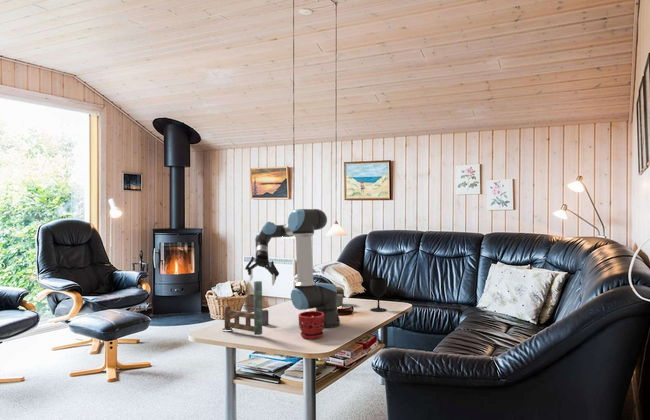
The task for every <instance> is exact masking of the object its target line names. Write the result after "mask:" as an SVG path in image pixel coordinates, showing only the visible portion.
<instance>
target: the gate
mask: <svg viewBox="0 0 650 420" xmlns="http://www.w3.org/2000/svg"><path fill="white" fill-rule="evenodd" d="M223 308H224V310H223V311H224V315H223V316H224V317H223V318H224V328H225V329H229V328H232V329H235V330H242V331H245V332H246V331H247V332H251V333H253V334H254V335H255V336H257V335H258V336H261V335H262V334H263V326H262V310H263V281H262V280H260V281H259V280H258V281H257V280H256V281H254V282H253V310H254V311H253V312H246V311H241V310H235V309H231V305H224V307H223ZM231 316H233V319H234V322H231ZM240 318H245V323H244V324H243V323H240ZM251 320H253V324H254V325H251V323H252V321H251Z"/></svg>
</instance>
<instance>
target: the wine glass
mask: <svg viewBox="0 0 650 420" xmlns="http://www.w3.org/2000/svg"><path fill="white" fill-rule="evenodd" d="M387 285H388V284H387V279H386V278H385V277H371V279H370V283H369V287H370V292H371V294H372V295H373V296H375V297H376V298H377V307H372V308H370V310H369V311H371V312H374V313H381V312H382V313H384V312H387V309H386V308H382V307H380V298H381V297H382V296H383V295H384V294H386V291H387V290H388V288H387V287H388V286H387Z"/></svg>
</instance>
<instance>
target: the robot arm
mask: <svg viewBox="0 0 650 420" xmlns="http://www.w3.org/2000/svg"><path fill="white" fill-rule="evenodd" d="M288 215H289V216H288V219H287V223H286V224H280V225H279V224H278V225H277V224H275V223H274V222H271V221H267V222H265V223H264V225H263V226H262V227H261V228H262V229H261V230H260V232H258V233H257V234H256V235H255V239H254V240H255V241H254V242H255V257H254V256H251V257H250V260H249V262H248V263H247V265H245V268H244V270H247V275H248V276H249V281H250V282H251V281H252V280H253V275H254V274H253V270H254V269H255V268H256V267H261V268H264V269H265V270H267V271H268V272H269V273H270V275H271V286H274V285H275V283H276V280H277V278H278V277H279V275H280V272H279V271H278V269H277V268H276V265H275V264H274V261H270V260H269V243H270V241H271V239H272V238H273V239H275V238H291V237H295V254H296V255H295V256H296V276H297V277H296V279H297V280H296V283H295V284H294V288H293V289H292V290H291V293H290V300H291V303H292V305H293V306H294V308H295V309H297V310H298V311H307V310H311V309H315V311H319V312H323V313H324V327H323V329H325V328H326V329H329V328H337V327H339V326H341V320H340V316H339V313H338V312H337V288H336V287H337V285H336V284H333V283H327V282H315V281H314V270H313V269H314V268H313V267H314V266H313V244H312V243H313V241H312V236H314V235H315V231H318V230H322V229H324V228H325V227H326V225H327V224H328V223H327V222H328V217H327V215H326V213H325V212H324V211H323V210H321V209H319V208H312V209H311V208H299V209H294V210H292V211H291V212H290V213H289V214H288ZM282 236H283V237H282ZM253 262H254V264H252V263H253Z"/></svg>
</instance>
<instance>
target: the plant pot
mask: <svg viewBox="0 0 650 420" xmlns="http://www.w3.org/2000/svg"><path fill="white" fill-rule="evenodd" d="M297 317H298V325H299V329H300V336H301V337H302V338H304V339H307V340H314V339H315V340H316V339H317V338H318V339H320V338H322V337H323V335H324V330H323V329H324V328H323V327H324V313H323V312H319V311H316V310H308V311H307V310H306V311H303V312H300V313H298V316H297Z"/></svg>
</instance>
